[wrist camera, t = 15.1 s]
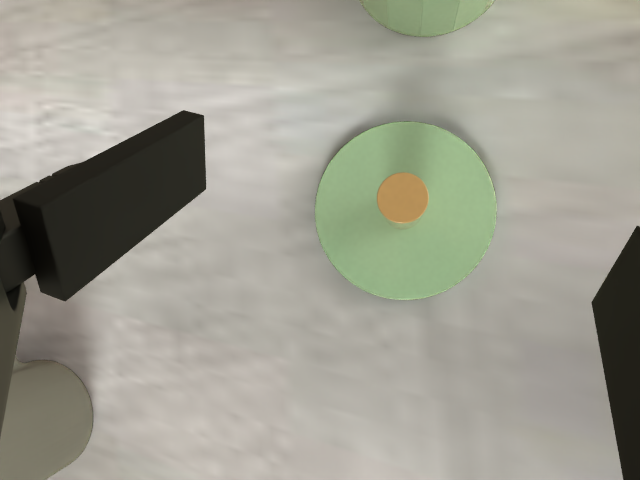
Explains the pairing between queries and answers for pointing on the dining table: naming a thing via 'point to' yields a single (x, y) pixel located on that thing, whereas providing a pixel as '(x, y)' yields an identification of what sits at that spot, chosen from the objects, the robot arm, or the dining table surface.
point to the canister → (425, 14)
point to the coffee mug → (43, 421)
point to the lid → (405, 210)
